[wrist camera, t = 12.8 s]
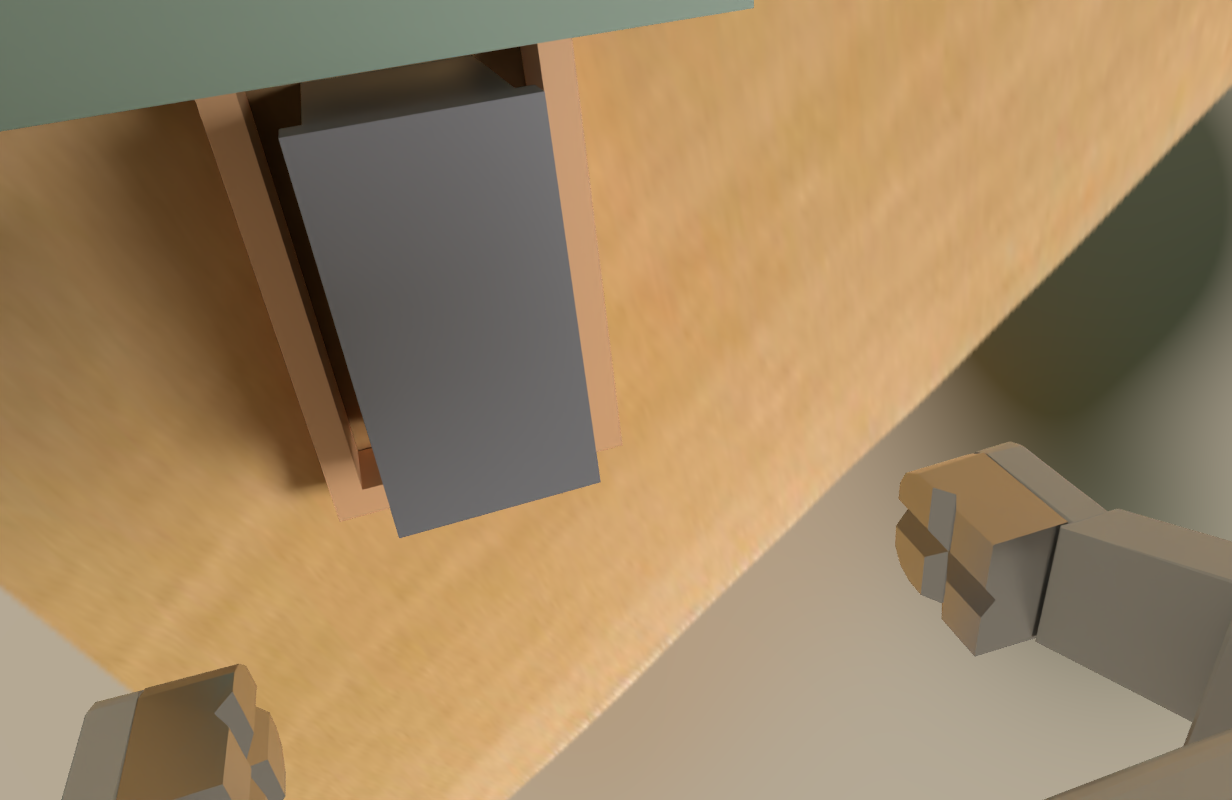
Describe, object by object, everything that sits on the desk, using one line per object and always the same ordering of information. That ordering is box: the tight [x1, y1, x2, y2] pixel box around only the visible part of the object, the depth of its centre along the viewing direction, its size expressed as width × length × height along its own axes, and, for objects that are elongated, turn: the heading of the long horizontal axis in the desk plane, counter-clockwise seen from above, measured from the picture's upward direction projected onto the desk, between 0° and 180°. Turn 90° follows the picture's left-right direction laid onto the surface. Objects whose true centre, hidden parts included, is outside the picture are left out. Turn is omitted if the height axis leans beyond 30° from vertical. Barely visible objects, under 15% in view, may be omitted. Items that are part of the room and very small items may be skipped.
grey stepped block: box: [278, 55, 600, 538], centre depth 20 cm, size 5×9×6 cm, turn 7°
